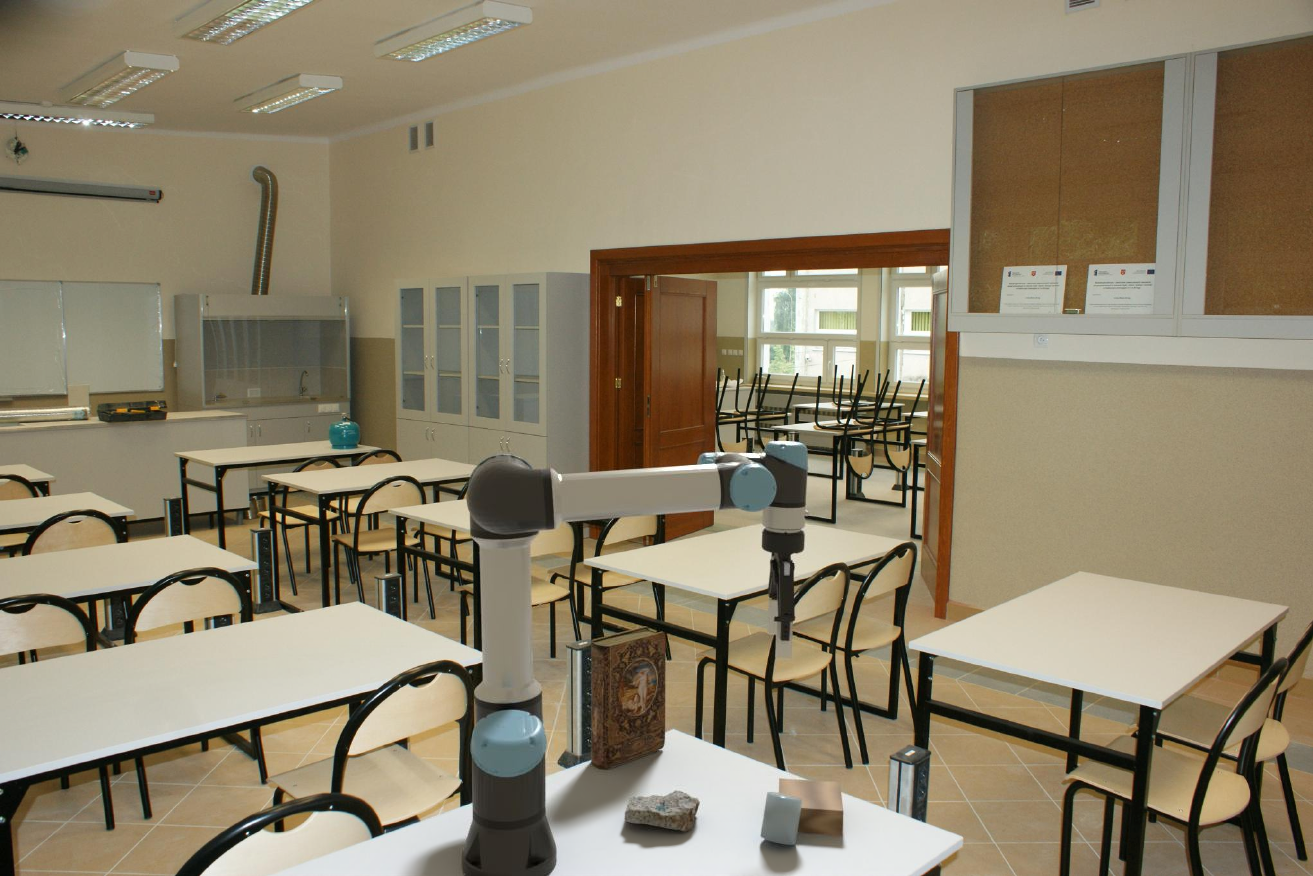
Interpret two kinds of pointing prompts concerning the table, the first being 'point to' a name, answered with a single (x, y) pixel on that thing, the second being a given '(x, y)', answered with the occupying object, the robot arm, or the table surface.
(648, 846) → the table surface
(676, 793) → the rock
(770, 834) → the grey rounded cylinder
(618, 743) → the book
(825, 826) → the walnut block
